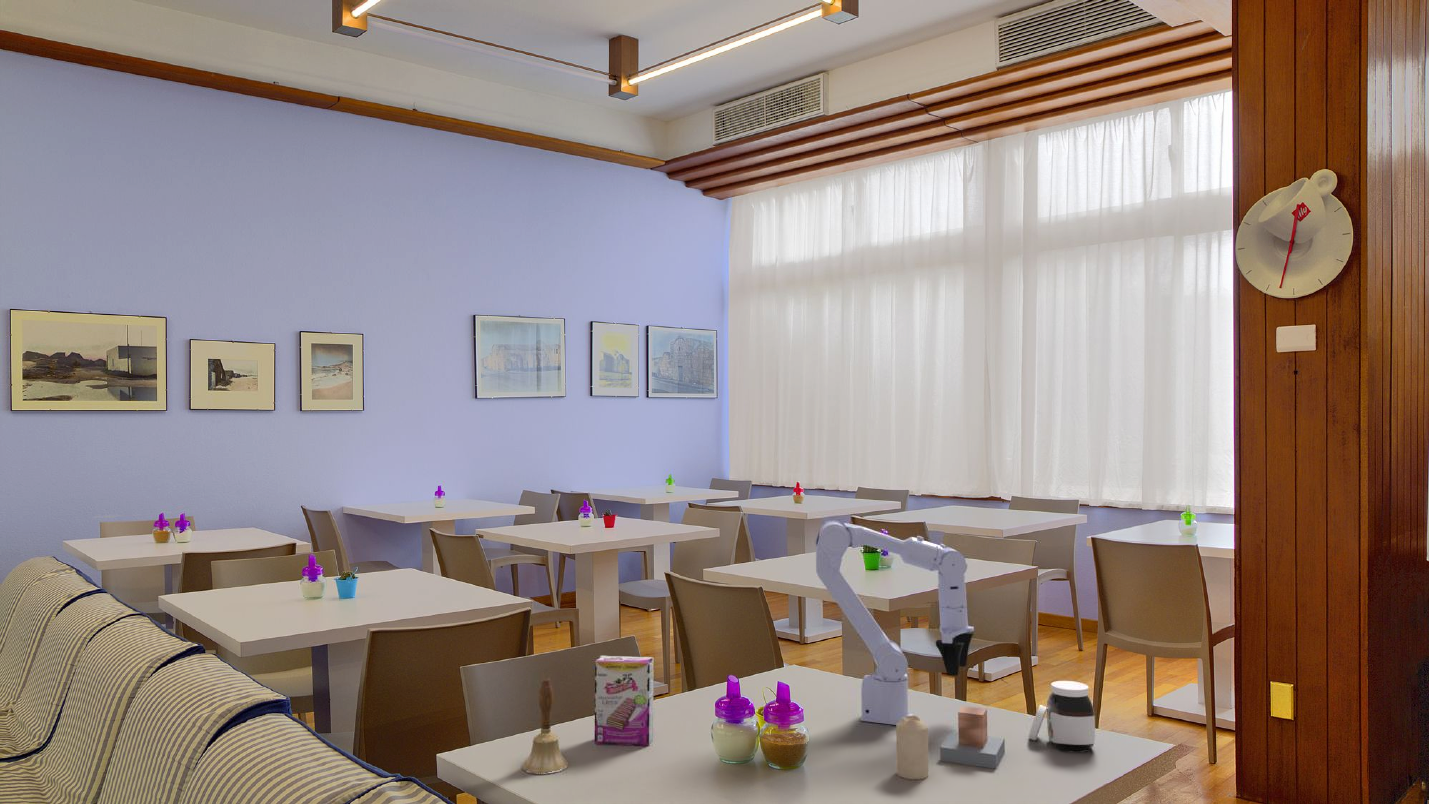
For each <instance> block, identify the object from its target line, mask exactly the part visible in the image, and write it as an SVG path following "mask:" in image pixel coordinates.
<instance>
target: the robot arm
mask: <svg viewBox="0 0 1429 804" xmlns="http://www.w3.org/2000/svg"><path fill="white" fill-rule="evenodd" d="M843 524H844V525H843ZM849 546H850V547H851V549H855V548H859V547H862V546H867V547H871V548H874V549H879V550H881V551H885V552H889V553H893V554H896V555H900V558H901V560H902V561H903V563H905V564H907V565H912V566H913V567H918V568H920V569H924V570H927V571H930V572H935V571H937V577H938V578H937V579H938V583H937V592H938V605H939V606H938V608H939V624H940V625H939V632H940V633H941V639H937V640H936V641H935V646H936V649H938V651H939V653H940V655H941V658H942V661H943V664H944V667H945V672H946V674H947V676H956V677H957V676H959V673H960V667H962V668H965V667H967V662H968V657H969V649H970V646H971V642H972V639H973V636H974V634H975V633H974V632H973V631H975V626H969V621H968V618H969V617H968V606H967V605H968V602H967V587H966V582H965V579H966V577H965V573H967V570H968V563H967V561H966V558H965V557H964V555H962V553H961V552H959V551H958V550H956V549H954V548H951V547H950V546H946V545H945V544H943V543H940V544H937V543H933V542H930V541H926V540H924V536H923V537H922V536H920V535H917V536H916V537H915V536H914V537H913V536H910V537H908V538H906V539H903V540H902V539H899V538H897V537H893V536H892V535H888V534H886V533H882V532H880V531H876V530H873V529H871V528H869V527H865V526H862V525H857V524H852V523H848V522H843V523H841V522H839V521H837V520H827V521H825V522H824V523H822V525H820V527H819V529H818V532H817V535H816V538H815V570H816V574H817V576H818V578H819V580H820V581H821V582H822V584H823V585H824V586H825V588H826V589H827V591H828V593H829V594H830V595H831V597H832V598H833V600H834V601H835V602H836V603H837V605H838V606H839V608H840V609H841V611H842V612H843V614H844V615H845V616H846V618H847V619H848V621H849V622H850V624H851V625H852V626H853V628H854V630H855V631H856V632H857V633H858V635H859V636H860V637H861V639H862V641H863V642H864V644H865V645H866V646H867V648H868V650H869V652H870V654H871V655H872V658H873V661H874V663H875V665H876V668H875V670H874V671H873V673H872V674H866V675H863V678H862V681H861V694H860V695H861V698H860V699H861V717H860V721H861V722H868V723H869V722H870V723H876V724H878V723H879V724H885V725H893V726H896V725H897V723H898V722H899V721H900V720H901V719H902V718H905V717H906V716H915V715H914V714H913V713H909V698H908V697H909V695H908V694H909V693H908V692H909V691H908V690H909V687H908V683H909V682H908V674H907V672H908V668H909V663H908V659H907V657H906V656H905V654H904V653H903V651H902V648H901V647H900V646H899V645H898V644H897V643H896V642H894V641H893V640H891V639H889V637H888V636H887V635H886V633H885V632H884V631H883V629H882V628H881V627H880V625H879V624H878V622H877V621H876V620H875V618H874V617H873V615H872V614H871V612H870V611H869V610H868V608H867V607H866V606H865V605H864V603H863V601H862V600H861V598H860V596H858V595H857V592H856V591H855V590H854V588H853V587H852V586H851V585H850V583H849V582H848V580H847V579H846V577H845V576H844V575H843V573H842V572H841V569H840V568H841V564H842V561H843V557H844V554H845V553H846V551H847V549H848V548H849Z"/></svg>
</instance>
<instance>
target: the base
mask: <svg viewBox="0 0 1429 804" xmlns="http://www.w3.org/2000/svg"><path fill="white" fill-rule="evenodd" d="M987 739H988V741H987V743H986V744H985V746H984V748H979V747H972V746H964V745H959V734H958V732H957V731H951V732H950V733H949V735H948V736H946V738H945V740H944V741H943V743H942V744H941V746H940V748H939V749H940V750H939V751H940V753H939V754H940V761H941V762H945V761H947V763H954V764H960V765H968V766H975V767H982V768H987V769H988V768H989V769H998V766H999V764H1000V762H1001V761H1002V758H1003V756H1004V755H1005V752H1006V751H1005V750H1006V749H1005V747H1006V745H1005V742H1006V741H1005V738H1003V737H995V736H988V735H987Z"/></svg>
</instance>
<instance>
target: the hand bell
mask: <svg viewBox="0 0 1429 804" xmlns="http://www.w3.org/2000/svg"><path fill="white" fill-rule="evenodd" d="M541 681H542V682H541V686H540V688H539V693H538V702H539V703H538V704H539V708H540V712H541V713H540V714H541V723H540V724H541V725H540V733H538V734H537V735H535V736H534V737H533V739H532V747H531V750H530V751H531V752H530V754H529V756H528V758H527V759H526V760H525V761H524V762H523V764H522V767H521V768H523V769H524V770H525V771H529V772H531V773H538V774H537V775H542V774H541V773H548V772H552V771H557V770H560V769H564V768H565V767H566V766H569V763H568V761H567V760H566V758H565V757H563V754H562V753H561V749H560V745H559V738H558V735H556V734H554V733H553V732H551V711H552V708H553V705H554V690H553V687H552V684H551V679H550V678H543V679H542V680H541ZM523 769H522V770H523ZM524 770H523V771H524ZM525 771H524V772H525ZM531 773H530V774H531ZM539 773H540V774H539Z"/></svg>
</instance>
